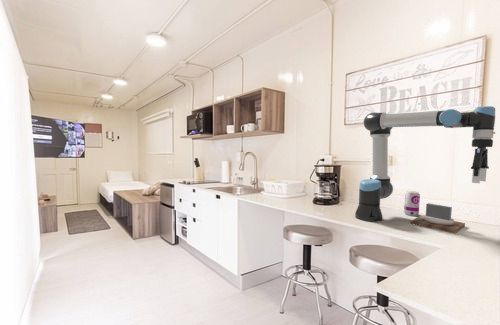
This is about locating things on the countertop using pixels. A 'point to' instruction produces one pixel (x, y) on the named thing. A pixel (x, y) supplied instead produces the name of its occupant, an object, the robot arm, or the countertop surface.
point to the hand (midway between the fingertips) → (478, 182)
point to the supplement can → (412, 203)
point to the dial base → (439, 225)
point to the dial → (438, 214)
